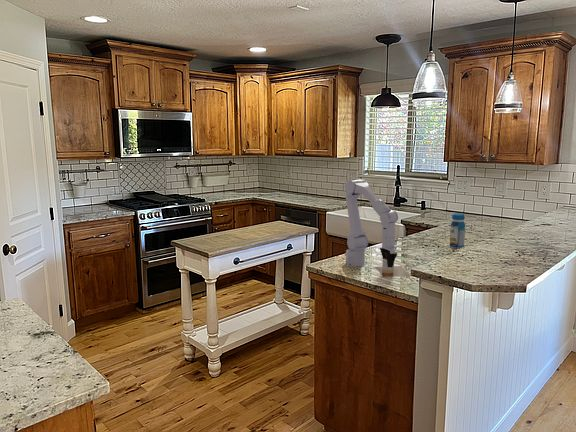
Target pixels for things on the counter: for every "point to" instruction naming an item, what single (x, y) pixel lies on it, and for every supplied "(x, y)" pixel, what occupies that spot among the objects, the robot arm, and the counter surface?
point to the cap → (384, 265)
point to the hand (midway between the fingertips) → (387, 264)
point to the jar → (387, 272)
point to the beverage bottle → (457, 231)
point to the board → (397, 272)
